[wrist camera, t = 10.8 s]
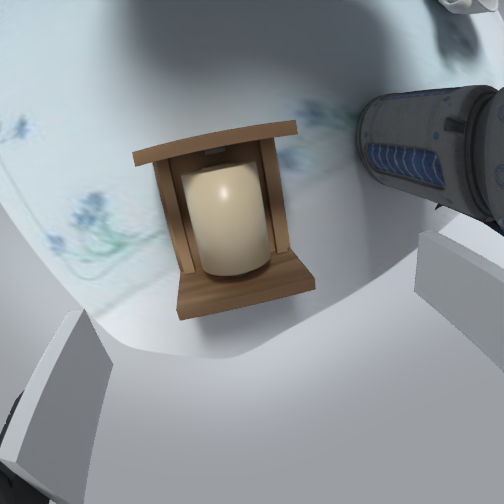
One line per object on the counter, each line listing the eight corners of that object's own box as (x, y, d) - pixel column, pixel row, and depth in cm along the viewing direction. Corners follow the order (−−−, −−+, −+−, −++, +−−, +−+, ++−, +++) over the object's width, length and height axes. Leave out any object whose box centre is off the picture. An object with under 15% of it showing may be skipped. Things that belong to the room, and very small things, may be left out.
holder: (151, 149, 25) (132, 152, 17) (269, 125, 26) (295, 119, 18) (183, 276, 30) (180, 320, 22) (288, 253, 31) (315, 289, 23)
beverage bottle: (374, 218, 31) (567, 344, 8) (332, 105, 26) (593, 94, 3) (435, 183, 31) (611, 258, 8) (403, 80, 26) (610, 76, 3)
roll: (198, 165, 26) (166, 178, 21) (262, 155, 24) (244, 164, 19) (216, 248, 29) (192, 278, 24) (276, 244, 28) (263, 276, 22)
